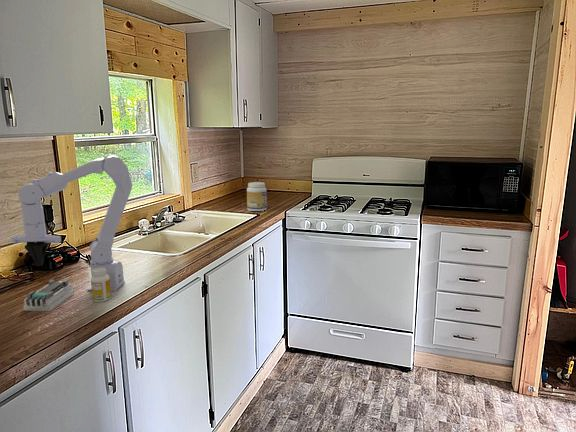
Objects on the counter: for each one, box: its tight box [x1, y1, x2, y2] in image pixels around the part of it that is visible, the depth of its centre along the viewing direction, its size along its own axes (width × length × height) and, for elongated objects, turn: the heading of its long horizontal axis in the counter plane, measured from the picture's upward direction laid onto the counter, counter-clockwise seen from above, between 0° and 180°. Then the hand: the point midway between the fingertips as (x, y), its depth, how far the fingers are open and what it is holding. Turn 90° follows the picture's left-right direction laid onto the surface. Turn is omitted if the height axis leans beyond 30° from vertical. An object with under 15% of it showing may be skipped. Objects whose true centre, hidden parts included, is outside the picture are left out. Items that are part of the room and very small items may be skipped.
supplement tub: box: [246, 181, 268, 212], centre depth 266 cm, size 12×12×17 cm
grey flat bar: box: [32, 281, 63, 298], centre depth 134 cm, size 11×4×1 cm, turn 177°
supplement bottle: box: [90, 267, 112, 303], centre depth 135 cm, size 5×5×10 cm
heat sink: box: [22, 279, 75, 312], centre depth 133 cm, size 13×8×5 cm, turn 177°
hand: (39, 264), depth 137 cm, fingers closed
